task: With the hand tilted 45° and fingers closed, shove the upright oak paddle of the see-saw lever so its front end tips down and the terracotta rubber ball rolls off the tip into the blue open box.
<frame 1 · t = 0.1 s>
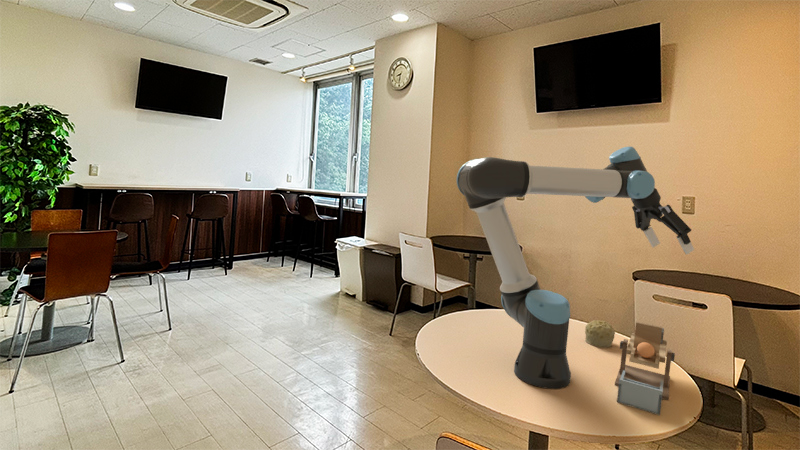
hand: (672, 248, 129), 36 cm above the table, tool tilted 35°, fingers open, 13 cm apart
blue open box: (639, 400, 103), on the table
catapult stand: (642, 381, 113), on the table
lever: (648, 336, 113), point 13 cm above the table, hinge at 0.0°, touching ball
decorative item: (598, 343, 141), on the table
ball: (645, 350, 106), point 12 cm above the table, touching lever
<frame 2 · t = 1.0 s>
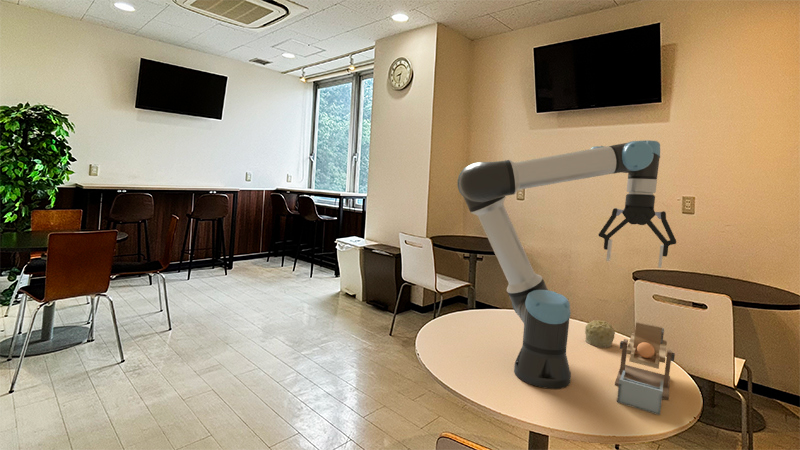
hand: (633, 263, 122), 32 cm above the table, tool pointing down, fingers open, 13 cm apart
nothing on the table moved.
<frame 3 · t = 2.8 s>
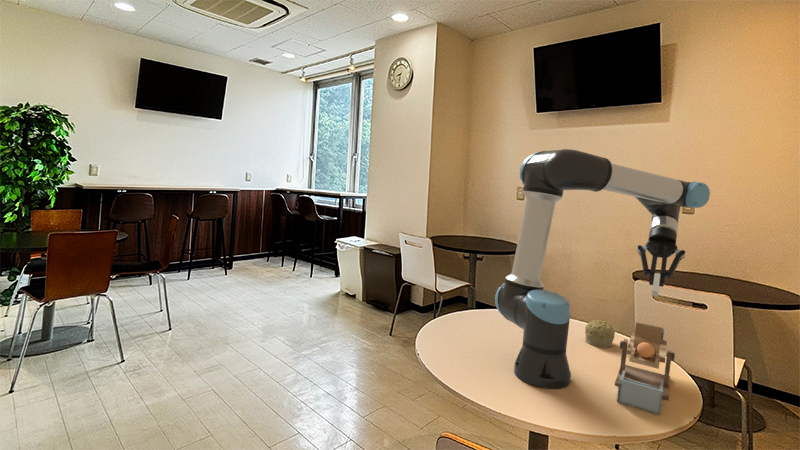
hand: (655, 293, 118), 24 cm above the table, tool tilted 45°, fingers closed
nothing on the table moved.
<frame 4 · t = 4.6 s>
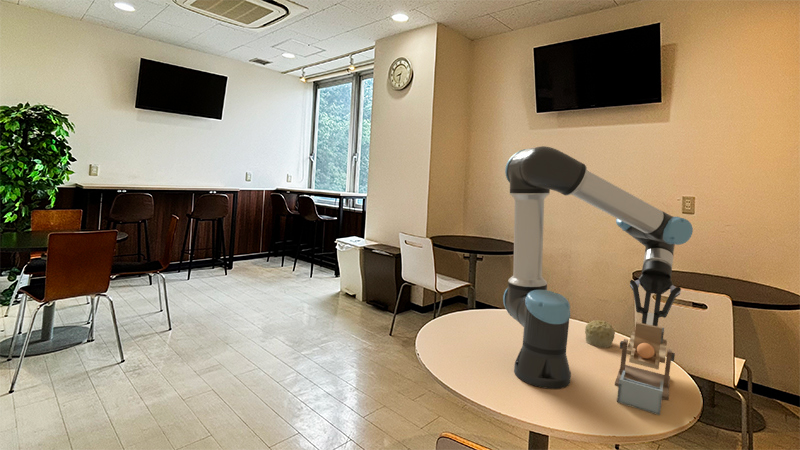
hand: (648, 335, 110), 14 cm above the table, tool tilted 45°, fingers closed
lever: (648, 336, 113), point 13 cm above the table, hinge at 1.2°, touching ball, gripper
everything else where it was.
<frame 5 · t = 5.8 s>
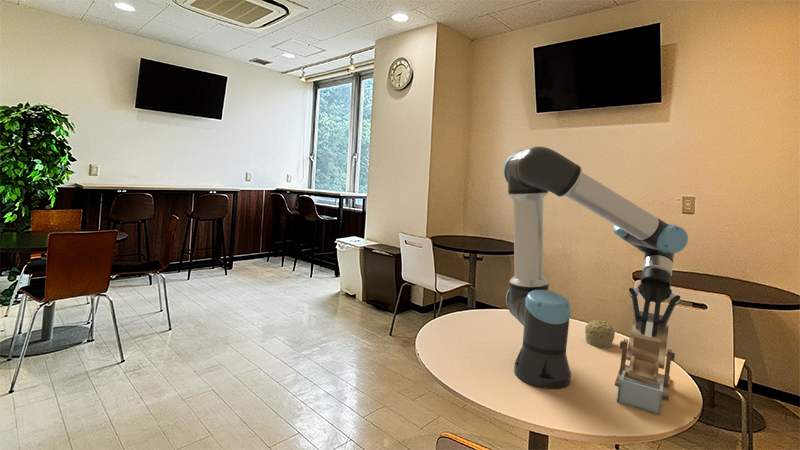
hand: (646, 345, 108), 12 cm above the table, tool tilted 45°, fingers closed
lever: (647, 337, 111), point 13 cm above the table, hinge at 26.3°, touching gripper
ball: (639, 392, 102), point 2 cm above the table, tilted 124°, touching blue open box
everything else where it was.
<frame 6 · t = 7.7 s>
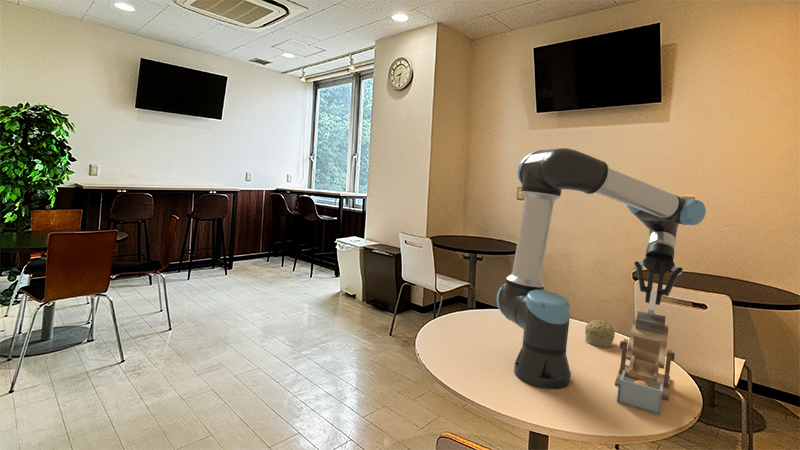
hand: (651, 312, 117), 18 cm above the table, tool tilted 45°, fingers closed
lever: (647, 337, 111), point 13 cm above the table, hinge at 25.4°
ball: (640, 388, 104), point 2 cm above the table, tilted 156°, touching blue open box
everything else where it was.
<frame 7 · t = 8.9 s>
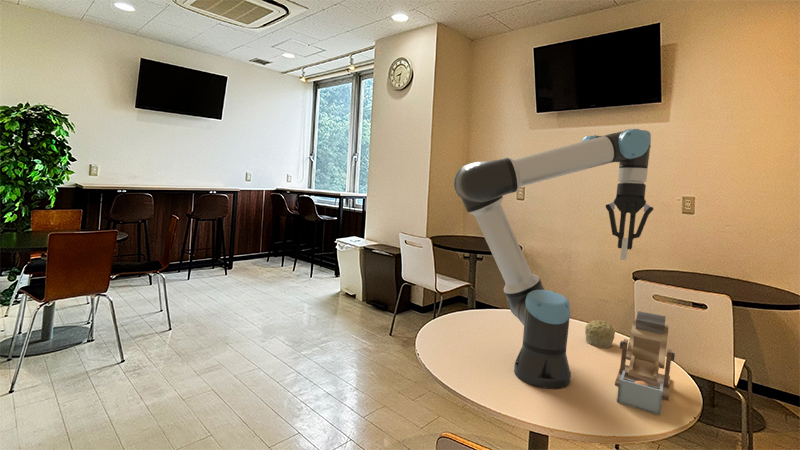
hand: (623, 259, 124), 32 cm above the table, tool pointing down, fingers closed
ball: (640, 388, 104), point 2 cm above the table, tilted 163°, touching blue open box
everything else where it was.
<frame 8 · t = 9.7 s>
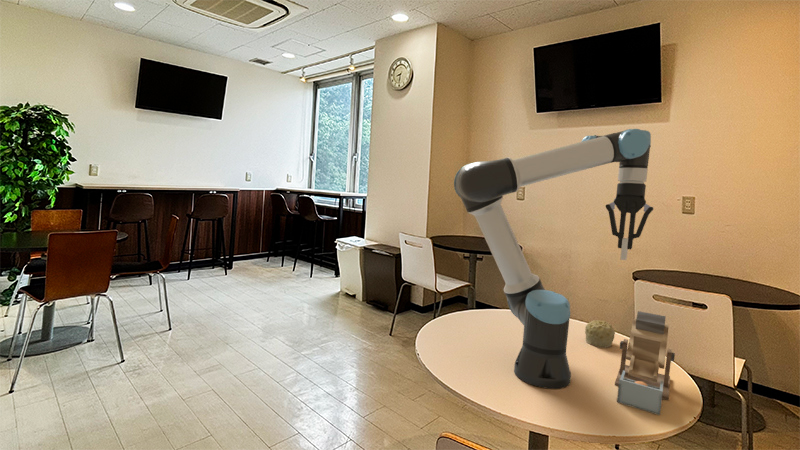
hand: (623, 259, 124), 32 cm above the table, tool pointing down, fingers closed
ball: (640, 389, 104), point 2 cm above the table, tilted 172°, touching blue open box
everything else where it was.
at the end: ball 1.2 cm from the blue open box (horizontally); ball point 2.5 cm above the table; lever at +25° (first picture: +0°) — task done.
